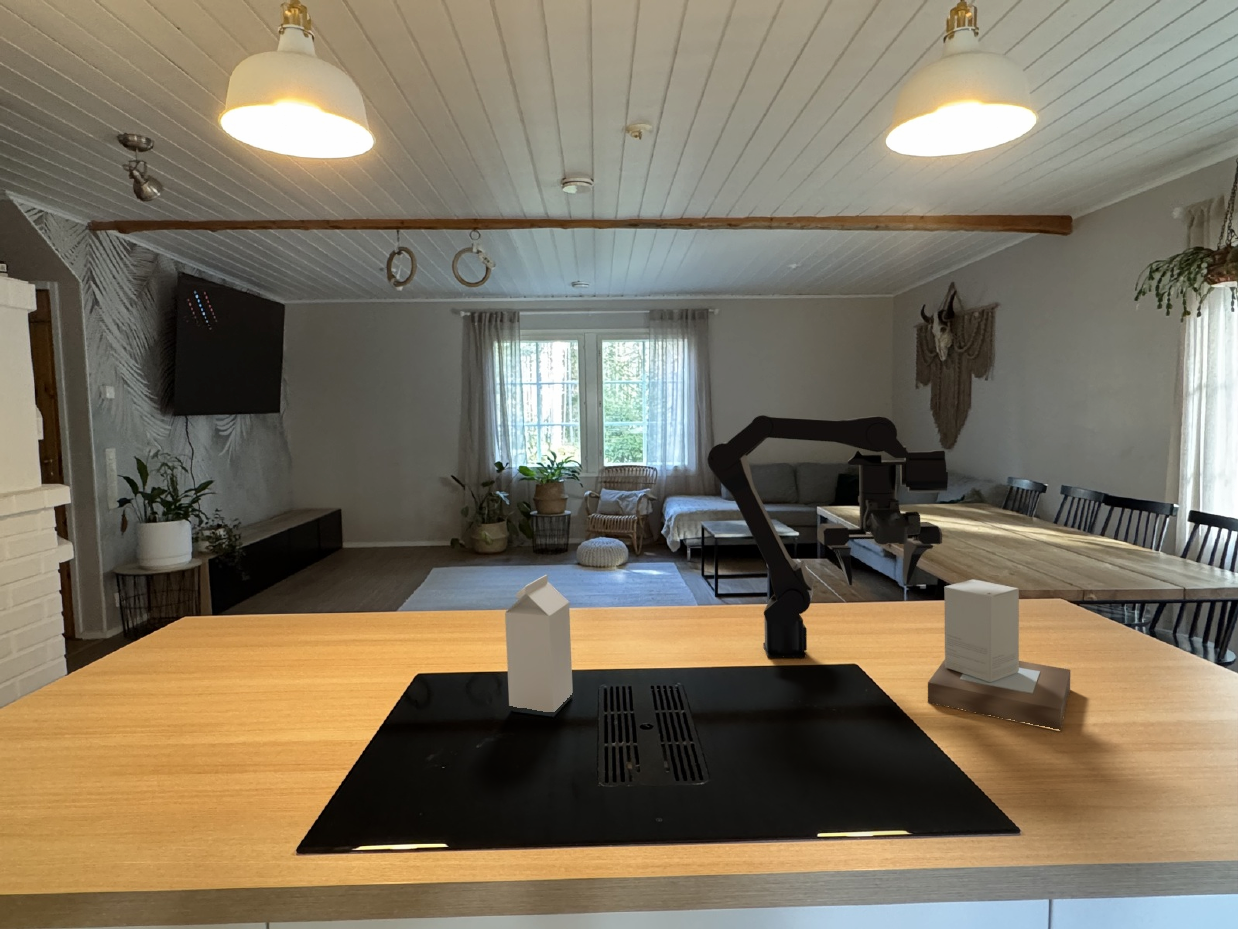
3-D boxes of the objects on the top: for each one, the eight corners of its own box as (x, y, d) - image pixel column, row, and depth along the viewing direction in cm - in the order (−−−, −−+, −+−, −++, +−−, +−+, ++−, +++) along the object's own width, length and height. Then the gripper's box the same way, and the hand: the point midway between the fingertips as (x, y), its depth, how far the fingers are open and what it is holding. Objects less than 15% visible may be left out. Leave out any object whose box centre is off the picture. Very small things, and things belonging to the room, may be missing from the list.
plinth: (927, 702, 96) (927, 681, 96) (951, 667, 109) (952, 648, 109) (1060, 732, 87) (1060, 708, 86) (1070, 689, 99) (1070, 668, 99)
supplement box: (1020, 672, 98) (1021, 588, 97) (989, 684, 95) (990, 596, 94) (973, 657, 105) (973, 577, 104) (942, 667, 101) (942, 585, 100)
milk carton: (573, 698, 102) (568, 575, 100) (553, 719, 95) (548, 587, 94) (531, 693, 104) (525, 573, 103) (509, 713, 97) (503, 585, 96)
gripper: (831, 499, 104) (832, 598, 105) (956, 496, 102) (956, 597, 103) (816, 491, 115) (817, 580, 116) (928, 488, 113) (928, 579, 114)
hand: (878, 584), depth 112 cm, fingers open, 9 cm apart
